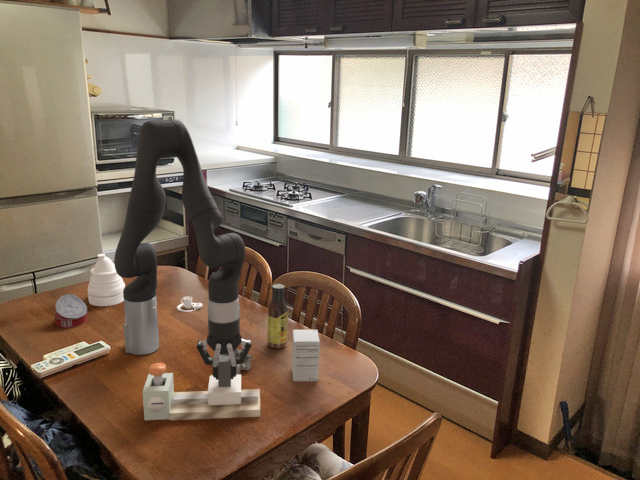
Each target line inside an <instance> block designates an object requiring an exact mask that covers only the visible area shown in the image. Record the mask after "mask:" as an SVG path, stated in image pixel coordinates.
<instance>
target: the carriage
mask: <svg viewBox="0 0 640 480" xmlns="http://www.w3.org/2000/svg"><path fill="white" fill-rule="evenodd" d="M241 390H242V374H241V373H239V374H236V377H234V378H233V379H231V361H230V358H229V356H219V360H218V380H216V378H214V377H213V374H211V375H209V381H208V387H207V391H208V406H210V405H234V404H241Z"/></svg>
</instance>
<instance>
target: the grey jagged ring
mask: <svg viewBox="0 0 640 480" xmlns="http://www.w3.org/2000/svg"><path fill="white" fill-rule="evenodd" d="M241 351H242V349H237V348H236V350H235V354H236V357H239V355H240V353H241ZM219 356H229V354H220V355H219ZM252 359H253V355H251V354H250V353H248V354H247V356H246V358H245V360H244V363H243V364H238V365H237V366H236V375H239V374H241V371H242V370H244V371H250V370H251V366H252V361H251V360H252Z"/></svg>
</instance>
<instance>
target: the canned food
mask: <svg viewBox="0 0 640 480" xmlns="http://www.w3.org/2000/svg"><path fill="white" fill-rule="evenodd" d="M54 308H55V310H56V313H54V322H55V325H56V327H59V328H67V329H68V328H75V327H79V326H82V325H83V324H85V323H86V322H88V320H89V319H88V307H87V305H86V303H85V302H84V301H83V300H82V299H81V298H79V296H77V295H76V294H72V293H70V294H68V293H66V294H63V295H61V296H60V297H59V298H58V299H57V300H56V302H55V306H54Z"/></svg>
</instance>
